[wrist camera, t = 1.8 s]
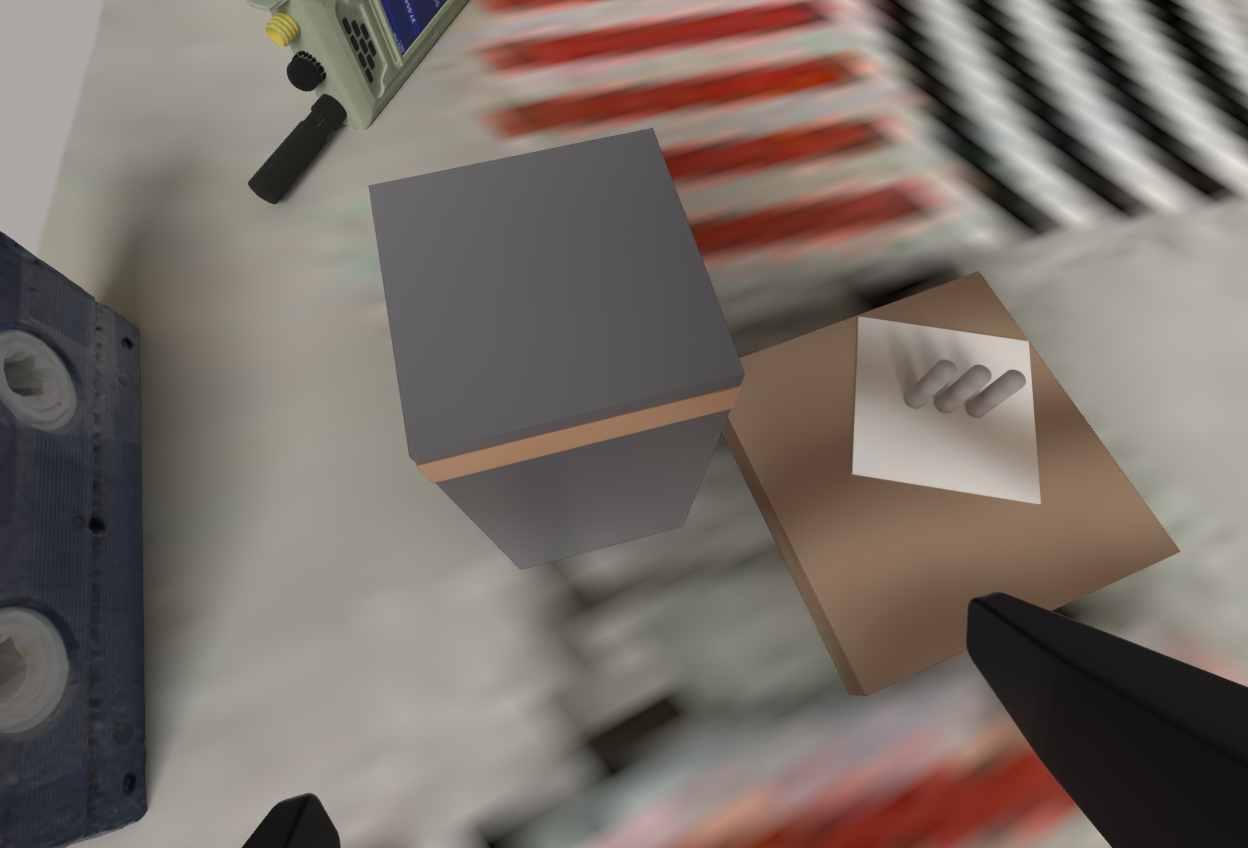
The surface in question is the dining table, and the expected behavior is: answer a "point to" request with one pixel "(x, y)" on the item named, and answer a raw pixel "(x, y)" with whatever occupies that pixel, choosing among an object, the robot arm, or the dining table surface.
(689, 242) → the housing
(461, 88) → the dining table surface
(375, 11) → the handheld radio
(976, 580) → the board
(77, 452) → the vhs cassette tape
